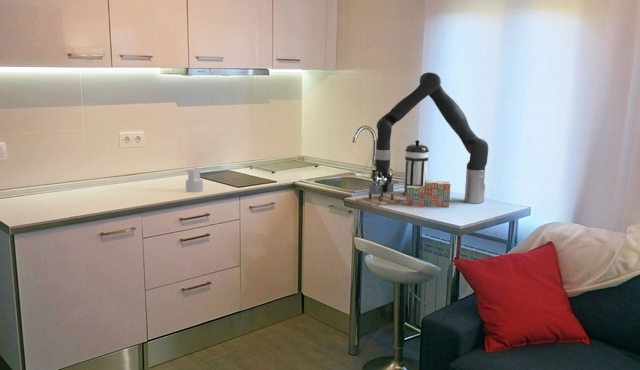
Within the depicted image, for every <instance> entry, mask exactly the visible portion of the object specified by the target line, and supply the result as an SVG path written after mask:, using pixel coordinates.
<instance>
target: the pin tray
mask: <svg viewBox="0 0 640 370" xmlns="http://www.w3.org/2000/svg"><path fill="white" fill-rule="evenodd" d="M394 194H395V193H390V194H384V193H383V194H378V195H374V196H372V193H369V192H368V196H367V197H360V198H359V197H358V198H355V202H357V201H358V202H357V203H359V204H364V205H367V206H370V207H379V206H385V205H386V206H387V205H393V204H399V203H406V198H401V197H398V196H395V195H394Z"/></svg>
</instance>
